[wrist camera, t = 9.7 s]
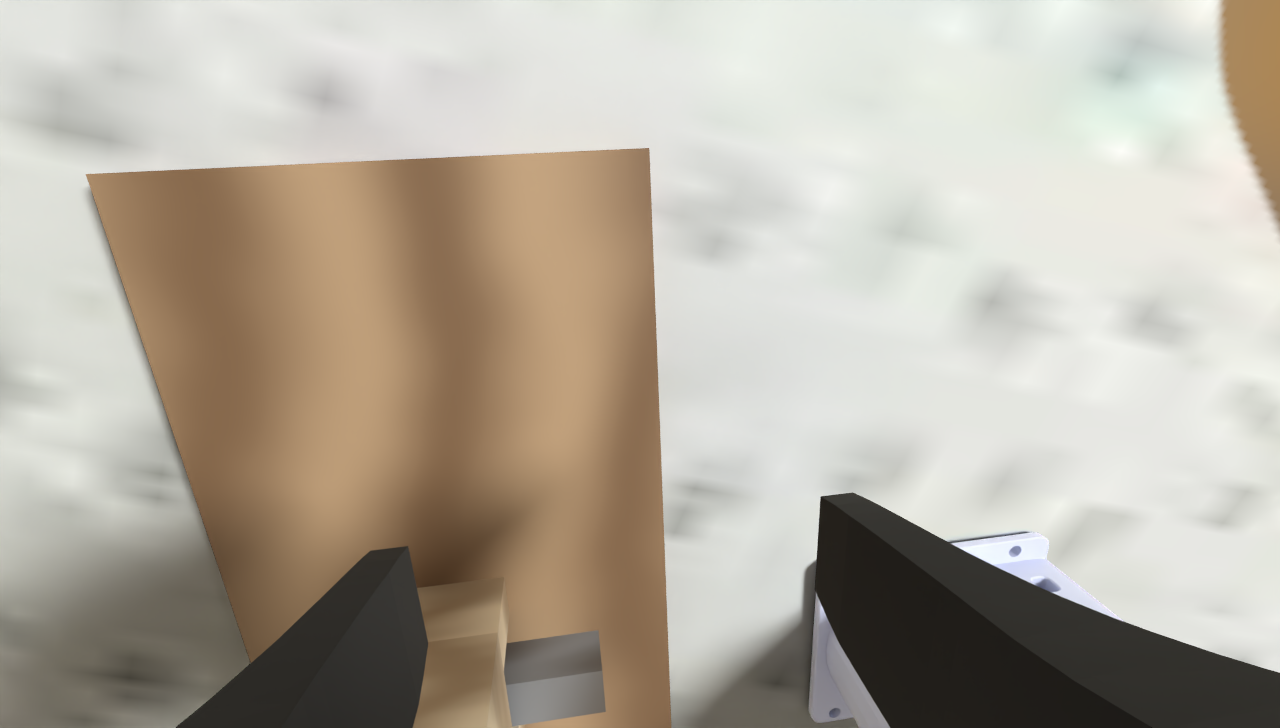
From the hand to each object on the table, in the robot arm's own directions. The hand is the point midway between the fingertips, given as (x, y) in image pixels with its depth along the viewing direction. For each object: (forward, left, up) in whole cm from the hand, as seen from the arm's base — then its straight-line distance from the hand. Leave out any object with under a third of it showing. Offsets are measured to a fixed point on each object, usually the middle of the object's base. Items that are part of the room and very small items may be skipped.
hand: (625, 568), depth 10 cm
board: (+5, +5, -9) cm, 12 cm away
